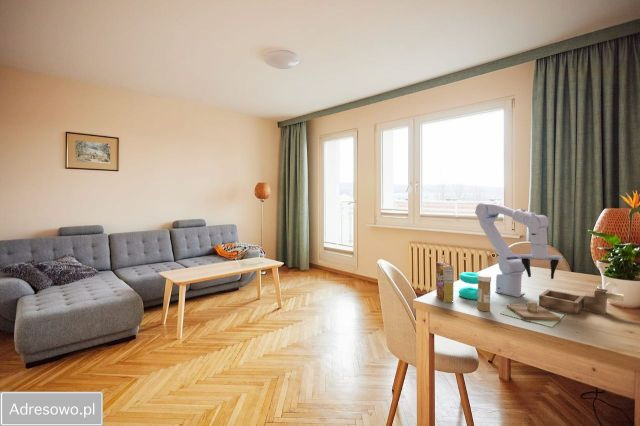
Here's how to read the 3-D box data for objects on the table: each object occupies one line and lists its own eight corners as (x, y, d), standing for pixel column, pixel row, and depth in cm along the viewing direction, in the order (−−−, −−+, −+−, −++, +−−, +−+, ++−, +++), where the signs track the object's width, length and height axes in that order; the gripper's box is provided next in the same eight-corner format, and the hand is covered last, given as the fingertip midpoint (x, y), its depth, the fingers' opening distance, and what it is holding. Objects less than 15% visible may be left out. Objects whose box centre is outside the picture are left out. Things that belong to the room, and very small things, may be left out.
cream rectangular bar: (593, 295, 119) (594, 290, 119) (594, 294, 120) (595, 289, 120) (623, 301, 113) (623, 295, 113) (623, 300, 114) (624, 294, 114)
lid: (506, 307, 123) (507, 297, 122) (539, 308, 122) (539, 297, 121) (524, 319, 111) (524, 308, 110) (560, 320, 110) (560, 309, 109)
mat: (500, 313, 117) (500, 313, 117) (515, 304, 127) (515, 303, 127) (552, 327, 105) (552, 326, 105) (564, 315, 115) (564, 314, 115)
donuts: (471, 278, 130) (454, 272, 139) (471, 301, 131) (453, 294, 140) (490, 275, 133) (471, 270, 143) (489, 298, 134) (470, 292, 143)
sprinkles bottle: (490, 312, 119) (491, 277, 118) (476, 310, 121) (477, 275, 120) (490, 308, 123) (491, 274, 122) (477, 306, 125) (478, 273, 124)
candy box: (435, 295, 138) (436, 261, 137) (445, 295, 138) (445, 261, 137) (443, 302, 129) (443, 266, 128) (453, 302, 129) (454, 266, 128)
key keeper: (583, 309, 121) (584, 288, 120) (585, 307, 123) (586, 286, 123) (604, 314, 116) (605, 291, 116) (606, 311, 119) (607, 289, 118)
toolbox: (538, 306, 125) (539, 295, 124) (547, 299, 133) (547, 289, 132) (577, 315, 116) (577, 303, 115) (584, 307, 123) (584, 296, 123)
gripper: (561, 244, 127) (563, 277, 126) (520, 243, 136) (521, 274, 136) (560, 245, 122) (562, 280, 121) (516, 244, 131) (518, 277, 131)
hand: (540, 277), depth 128 cm, fingers open, 7 cm apart
